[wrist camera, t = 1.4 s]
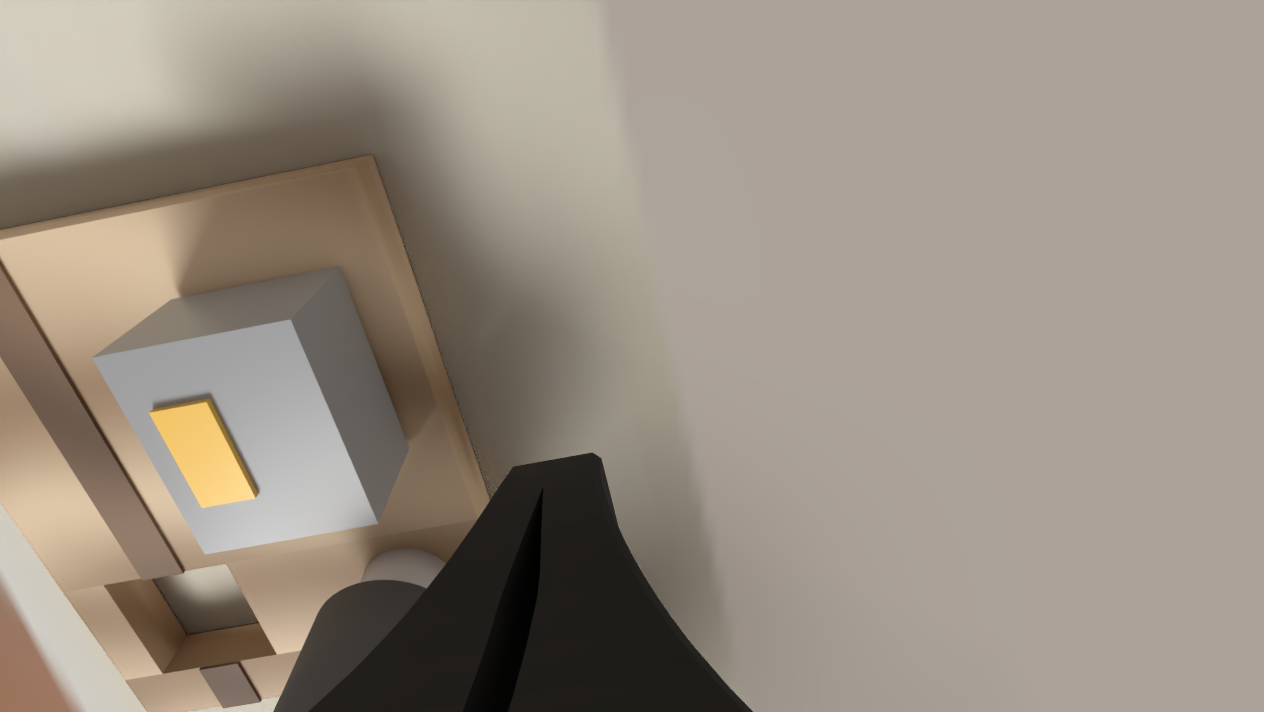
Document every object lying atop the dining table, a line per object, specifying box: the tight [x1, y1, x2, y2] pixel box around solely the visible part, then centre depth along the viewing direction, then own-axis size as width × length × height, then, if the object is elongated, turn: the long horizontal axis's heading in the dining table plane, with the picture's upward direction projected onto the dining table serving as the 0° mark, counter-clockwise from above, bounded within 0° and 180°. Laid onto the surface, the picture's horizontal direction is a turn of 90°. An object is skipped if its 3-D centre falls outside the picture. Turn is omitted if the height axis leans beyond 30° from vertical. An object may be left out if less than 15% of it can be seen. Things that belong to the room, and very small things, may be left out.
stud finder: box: [92, 266, 409, 554], centre depth 17 cm, size 5×4×3 cm
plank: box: [0, 154, 490, 712], centre depth 21 cm, size 15×12×2 cm
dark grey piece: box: [274, 548, 446, 712], centre depth 18 cm, size 4×4×7 cm
